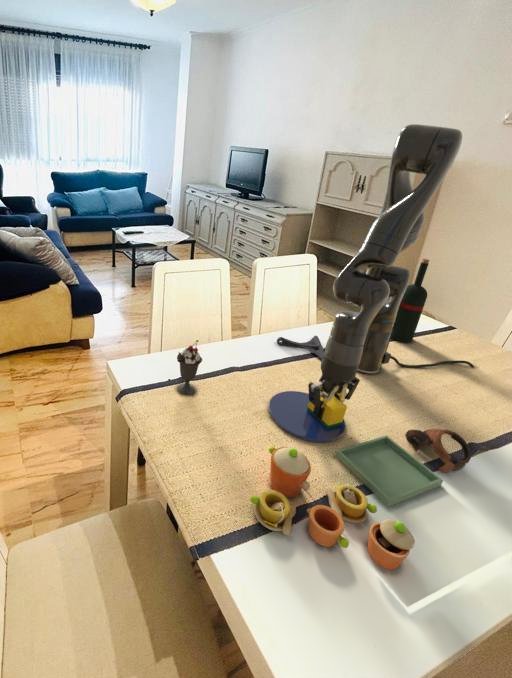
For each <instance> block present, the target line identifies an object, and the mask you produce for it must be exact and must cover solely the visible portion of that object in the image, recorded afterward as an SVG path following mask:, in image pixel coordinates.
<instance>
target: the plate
mask: <svg viewBox="0 0 512 678" xmlns="http://www.w3.org/2000/svg"><path fill="white" fill-rule="evenodd" d="M308 404H309V392H303V391H297V390H286V391H280V392H278V393H276V394H274V395H273V396H272V397H271V398H270V400H269V402H268V413H269V415H270V417H271V419H272V421H273V422H274V423H275V424H276V425H277V426H278V427H279V428H281V430H283V431H284V432H286V433H287V434H289V435H291V436H293V437H296V438H297V439H300V440H303V441H307V442H311V443H320V444H327V443H332V442H335V441H337V440H339V439H340V438H341V437H342V436H343V435H344V433H345V430H346V422H345V419H344V418H343V422H342V425H339V426H335V427H331V428H326V427H325V426H324V425H323V424H322V423H321V422H320V421H319V420H318V419H317V418H316V417H315V416H313V415H312V414H311V413H310V412H309V411H308V410H307V408H308Z"/></svg>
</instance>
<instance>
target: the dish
mask: <svg viewBox="0 0 512 678" xmlns="http://www.w3.org/2000/svg"><path fill="white" fill-rule="evenodd" d="M334 457H336V458H337V459H338V460H339V461H340V462H341V463H342V464H343V465H344V466H345V468H347V469H348V470H349V471H350V472H351V473H352V474H353V475H354V476H355V477H356V478H357V479H358V480H359V481H360V482H361V483H362V484H363V485H364V486H366V488H368V490H370V491H371V492H372V493H373V494H374V495H375V496H376V497H377V498H378V499H379V500H380V501H381V502H382V503H383V504H384V505H385V506H386V507H387V508H389V507H392V506H394V505H397V504H398V503H402V502H404V501H407V500H409V499H412V498H414V497H417V496H418V495H421V494H424V493H427V492H429V491H432V490H434V489H437V488H439V487H441V486H442V484H443V481H444V479H442V478H441V477H440V476H439V475H437V474H436V473H435V472H434V471H432V470H431V469H430V468H428V467H427V466H426V465H425V464H424V463H422V462H421V461H420V460H419V459H417V458H416V457H415V456H414V455H413V454H411V453H410V452H408V451H407V450H406V449H404V448H403V447H402V446H401V445H400V444H399V443H397V442H396V441H395V440H393V439H392V438H391V437H389V435H387V434H386V435H382V436H380V437H376V438H373V439H370V440H367V441H362V442H359V443H356V444H353V445H350V446H347V447H344V448H343V447H342V448H341V449H336V452H335V456H334Z"/></svg>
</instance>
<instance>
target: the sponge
mask: <svg viewBox="0 0 512 678" xmlns="http://www.w3.org/2000/svg"><path fill="white" fill-rule="evenodd" d="M323 392H324V391H323ZM324 393H325V392H324ZM325 394H326V395H328V394H327V393H325ZM320 400H321V401H323V397H321V399H320ZM314 407H315V406H314V405H313V404H312V403H311V402H310V401H309V404H308V408H307V410H308V411H309V412H310V413H311V414H312V415H313V416H314V414H313V410H314ZM347 408H348V406H347V405H346V404H345V403H342V402H341V401H340V400H338V399H337V398H336V397H335V396H334V395H333V397H332V399H331V400H330V401H328V402H327V404H326V406H325V409H324V413H323V417H322V419H320V420H319V419H318V420H319V421H320V422H321V423H322V424H323V425H324V426H325V427H326V428H331V427H335V426H339V425H342V422H343V419H344V418H345V415H346V412H347Z"/></svg>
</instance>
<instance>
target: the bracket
mask: <svg viewBox="0 0 512 678" xmlns="http://www.w3.org/2000/svg"><path fill="white" fill-rule="evenodd" d="M276 343H277V345H278V346H281V347H286V348H287V347H288V348H293V349H294V348H295V349H301V350H302V349H303V350H307V351H309V352H310V353H312V354H314V355H316V356H317V357H318V358H319V359H321V360H322V359H323V355H324V351H325V348H324V347H323V345H322V342H321V340H320V339H319V337H318V335H313V337H311V339H310V340H308V341H306V342H297V341H293V340H291V339H287V338H285V337H282V336H280V337H278V338H277V339H276Z"/></svg>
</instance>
